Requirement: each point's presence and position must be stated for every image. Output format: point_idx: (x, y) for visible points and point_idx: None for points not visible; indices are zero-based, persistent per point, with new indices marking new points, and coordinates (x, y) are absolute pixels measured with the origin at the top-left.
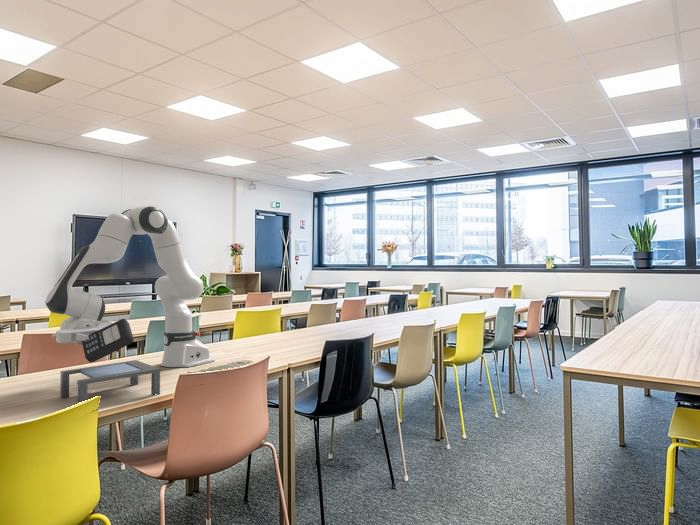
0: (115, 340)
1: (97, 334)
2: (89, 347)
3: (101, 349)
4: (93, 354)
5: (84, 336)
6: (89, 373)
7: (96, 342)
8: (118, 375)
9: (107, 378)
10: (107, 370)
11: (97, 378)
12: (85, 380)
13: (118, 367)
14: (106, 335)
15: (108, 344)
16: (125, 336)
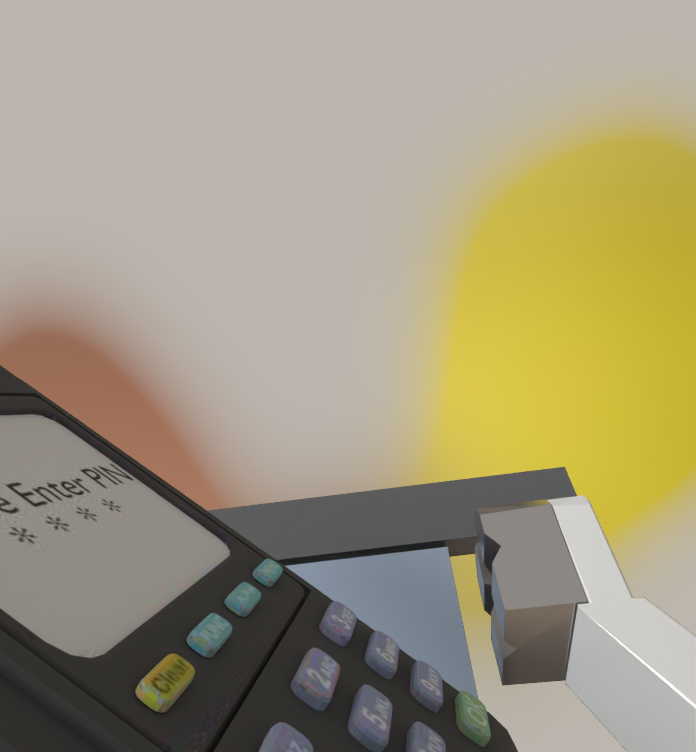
0: (114, 452)
1: (209, 734)
2: (447, 745)
3: (304, 586)
4: (411, 657)
5: (556, 503)
6: None
7: (321, 656)
8: (284, 503)
9: (368, 497)
10: None
11: (437, 498)
12: (525, 487)
13: None
14: (108, 571)
15: (206, 517)
16: (5, 371)
